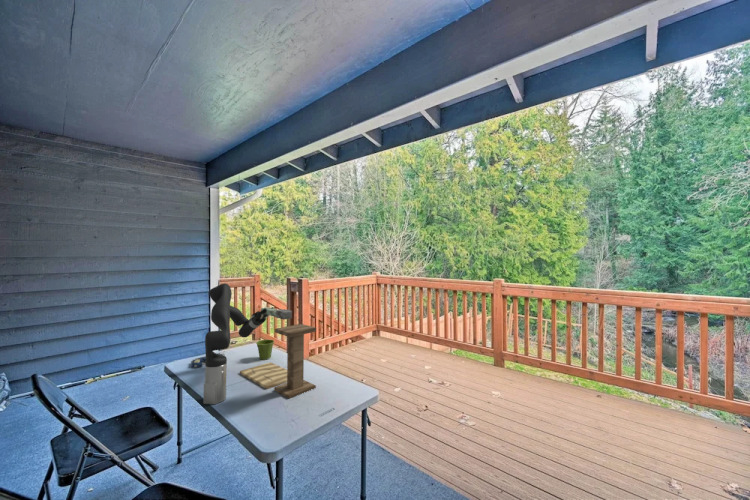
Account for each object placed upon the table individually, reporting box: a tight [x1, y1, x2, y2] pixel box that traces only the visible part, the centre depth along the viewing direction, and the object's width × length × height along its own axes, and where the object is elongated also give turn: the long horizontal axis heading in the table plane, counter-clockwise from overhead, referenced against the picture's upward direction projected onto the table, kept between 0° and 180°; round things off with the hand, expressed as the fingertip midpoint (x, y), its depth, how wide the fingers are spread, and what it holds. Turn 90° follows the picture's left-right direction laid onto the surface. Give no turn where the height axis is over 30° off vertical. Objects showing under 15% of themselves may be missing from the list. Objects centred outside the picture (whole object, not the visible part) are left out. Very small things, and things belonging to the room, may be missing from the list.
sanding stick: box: [260, 306, 293, 321], centre depth 172 cm, size 26×5×4 cm, turn 48°
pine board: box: [239, 361, 287, 390], centre depth 175 cm, size 32×20×2 cm, turn 48°
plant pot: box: [255, 339, 275, 361], centre depth 206 cm, size 12×12×11 cm
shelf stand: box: [273, 323, 317, 400], centre depth 158 cm, size 14×16×32 cm
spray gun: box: [190, 352, 226, 368], centre depth 196 cm, size 21×4×15 cm
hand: (269, 309), depth 177 cm, fingers closed on sanding stick, 4 cm apart
